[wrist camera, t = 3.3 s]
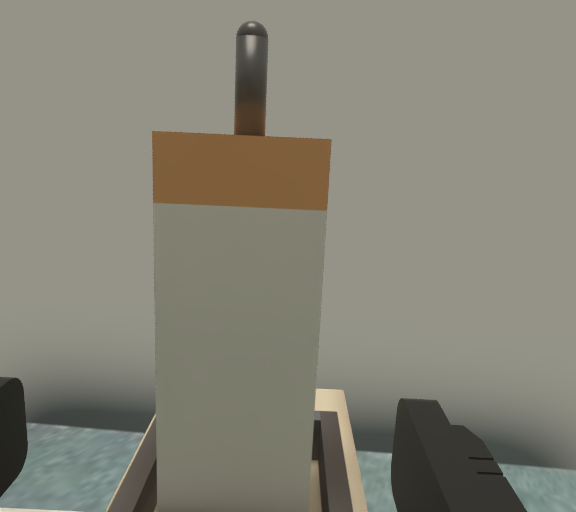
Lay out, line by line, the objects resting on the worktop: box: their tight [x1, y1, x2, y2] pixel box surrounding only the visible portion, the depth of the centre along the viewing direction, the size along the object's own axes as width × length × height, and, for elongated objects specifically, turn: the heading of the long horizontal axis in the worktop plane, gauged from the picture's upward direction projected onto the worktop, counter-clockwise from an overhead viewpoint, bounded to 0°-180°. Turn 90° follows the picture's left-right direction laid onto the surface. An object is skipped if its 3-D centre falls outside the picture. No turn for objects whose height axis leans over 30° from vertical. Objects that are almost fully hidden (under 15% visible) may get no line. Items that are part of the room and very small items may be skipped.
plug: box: [152, 21, 331, 512], centre depth 18 cm, size 5×5×18 cm
